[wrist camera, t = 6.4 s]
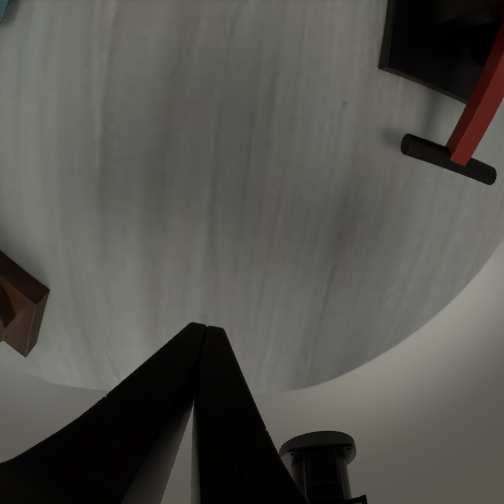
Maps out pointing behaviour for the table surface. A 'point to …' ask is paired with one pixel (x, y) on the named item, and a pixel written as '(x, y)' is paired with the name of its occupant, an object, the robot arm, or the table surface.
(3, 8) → the teapot
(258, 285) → the table surface
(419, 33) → the bracket
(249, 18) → the table surface
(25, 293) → the button block
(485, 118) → the lever
